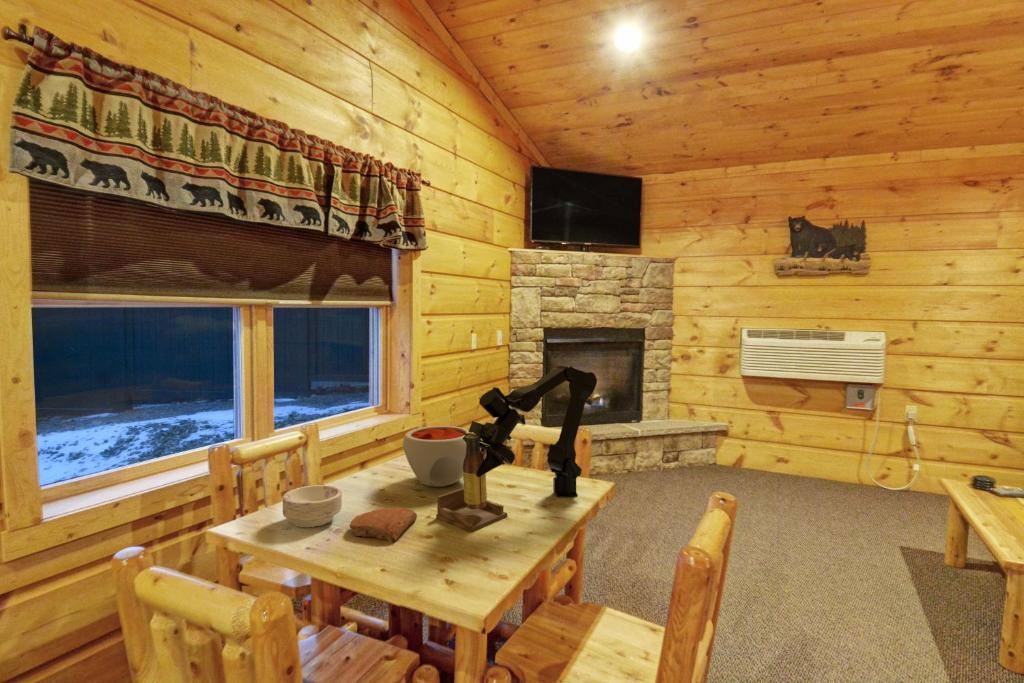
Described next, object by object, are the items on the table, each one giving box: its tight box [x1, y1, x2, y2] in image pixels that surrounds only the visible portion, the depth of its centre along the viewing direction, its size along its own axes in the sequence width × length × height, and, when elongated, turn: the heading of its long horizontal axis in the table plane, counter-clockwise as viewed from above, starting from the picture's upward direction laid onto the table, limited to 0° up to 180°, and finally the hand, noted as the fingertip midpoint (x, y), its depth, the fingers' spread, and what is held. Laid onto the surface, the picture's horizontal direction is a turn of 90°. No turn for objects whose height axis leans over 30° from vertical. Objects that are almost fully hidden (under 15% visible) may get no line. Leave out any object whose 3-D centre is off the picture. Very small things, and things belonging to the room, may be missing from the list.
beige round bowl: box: [282, 484, 343, 528], centre depth 147 cm, size 15×15×8 cm
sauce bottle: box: [462, 433, 488, 510], centre depth 148 cm, size 6×6×20 cm
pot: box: [402, 425, 471, 488], centre depth 179 cm, size 24×24×18 cm
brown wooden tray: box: [435, 486, 508, 533], centre depth 150 cm, size 14×14×6 cm
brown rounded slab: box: [349, 507, 418, 543], centre depth 142 cm, size 15×6×15 cm
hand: (470, 473), depth 147 cm, fingers closed on sauce bottle, 6 cm apart
